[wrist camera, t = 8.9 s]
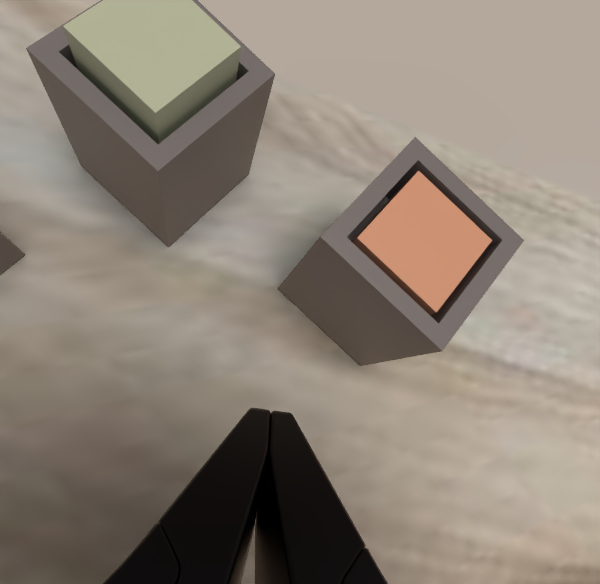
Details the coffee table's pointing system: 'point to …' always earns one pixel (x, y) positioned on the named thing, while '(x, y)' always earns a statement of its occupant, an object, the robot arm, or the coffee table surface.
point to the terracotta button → (422, 242)
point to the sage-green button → (154, 59)
